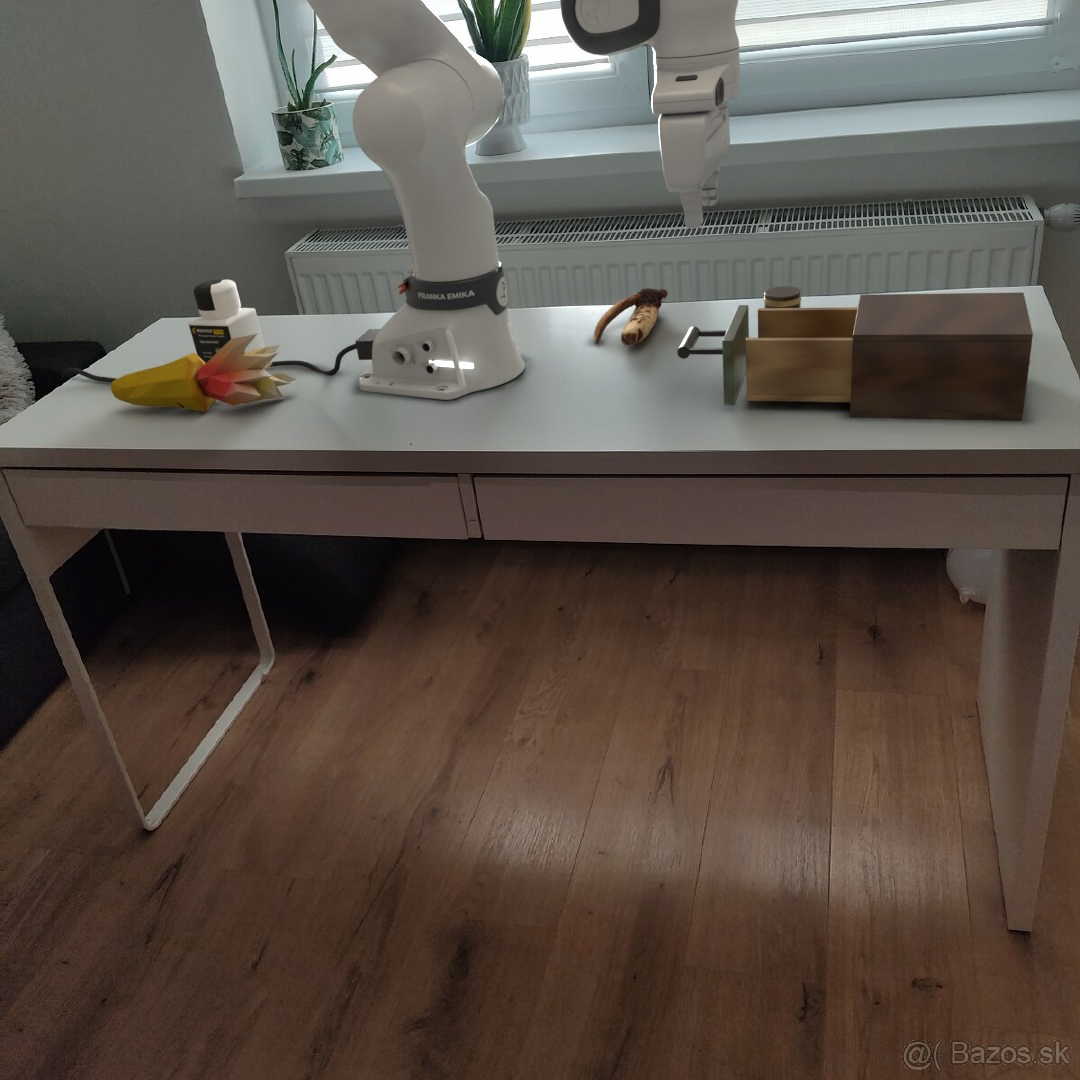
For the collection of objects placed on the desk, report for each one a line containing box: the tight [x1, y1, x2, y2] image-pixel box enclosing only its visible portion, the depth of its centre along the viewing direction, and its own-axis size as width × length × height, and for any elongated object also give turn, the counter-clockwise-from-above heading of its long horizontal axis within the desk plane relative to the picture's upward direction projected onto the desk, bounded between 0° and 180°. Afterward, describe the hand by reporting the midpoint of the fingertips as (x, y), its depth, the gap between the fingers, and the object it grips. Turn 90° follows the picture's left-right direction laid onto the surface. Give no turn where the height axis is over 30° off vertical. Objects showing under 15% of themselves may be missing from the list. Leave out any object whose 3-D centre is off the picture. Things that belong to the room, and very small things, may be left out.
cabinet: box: [849, 291, 1034, 421], centre depth 119 cm, size 18×14×10 cm
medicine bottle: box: [188, 278, 266, 363], centre depth 156 cm, size 7×7×12 cm
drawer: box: [676, 304, 858, 406], centre depth 124 cm, size 22×12×8 cm, turn 73°
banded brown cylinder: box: [763, 285, 802, 308], centre depth 136 cm, size 5×5×8 cm
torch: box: [110, 334, 298, 413], centre depth 142 cm, size 8×8×25 cm
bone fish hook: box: [593, 287, 669, 346], centre depth 150 cm, size 9×5×18 cm
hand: (702, 215), depth 119 cm, fingers open, 8 cm apart
